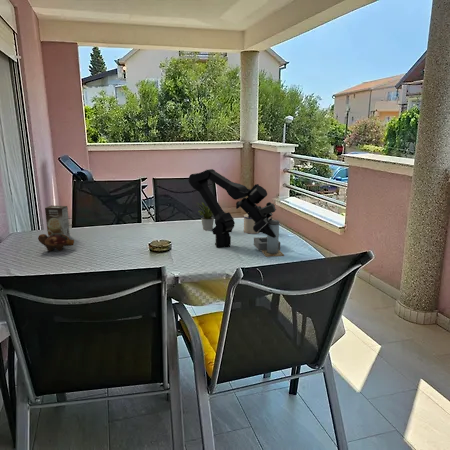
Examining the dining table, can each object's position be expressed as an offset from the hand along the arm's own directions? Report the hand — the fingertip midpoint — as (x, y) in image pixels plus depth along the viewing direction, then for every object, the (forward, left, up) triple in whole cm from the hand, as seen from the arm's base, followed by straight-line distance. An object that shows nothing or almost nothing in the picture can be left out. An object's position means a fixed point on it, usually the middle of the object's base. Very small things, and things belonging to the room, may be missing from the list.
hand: (276, 235), depth 172 cm
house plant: (-25, +49, -9) cm, 56 cm away
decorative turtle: (-97, +24, -9) cm, 101 cm away
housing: (-1, +10, -8) cm, 13 cm away
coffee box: (-101, +46, -9) cm, 112 cm away
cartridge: (-1, +1, -8) cm, 8 cm away
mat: (-1, +1, -8) cm, 9 cm away
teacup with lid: (-1, +40, -9) cm, 41 cm away
